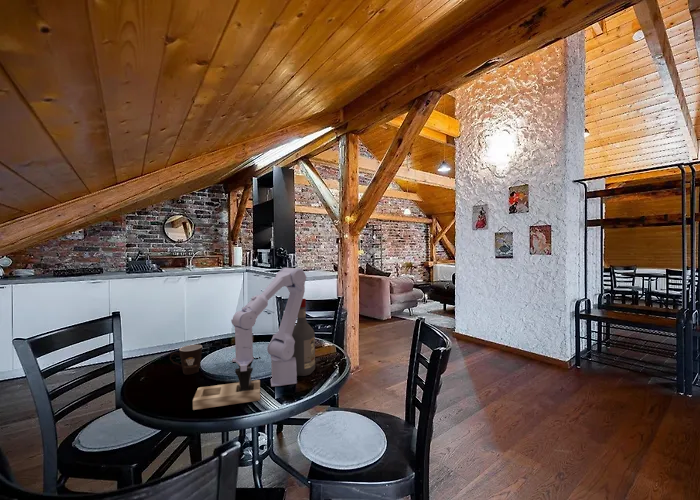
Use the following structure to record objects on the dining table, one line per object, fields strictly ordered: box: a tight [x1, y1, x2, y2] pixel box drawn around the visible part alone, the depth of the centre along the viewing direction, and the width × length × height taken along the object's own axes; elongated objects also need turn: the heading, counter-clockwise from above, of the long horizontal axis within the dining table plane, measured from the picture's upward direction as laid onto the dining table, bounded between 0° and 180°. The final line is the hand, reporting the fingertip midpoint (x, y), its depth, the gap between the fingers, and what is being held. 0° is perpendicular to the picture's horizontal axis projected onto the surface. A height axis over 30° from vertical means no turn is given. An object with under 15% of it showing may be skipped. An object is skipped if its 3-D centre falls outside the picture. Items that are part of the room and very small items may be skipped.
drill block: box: [192, 379, 261, 411], centre depth 113 cm, size 21×10×3 cm, turn 106°
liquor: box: [292, 298, 316, 377], centre depth 135 cm, size 9×9×30 cm
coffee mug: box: [169, 344, 203, 375], centre depth 138 cm, size 12×9×10 cm
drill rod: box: [238, 366, 252, 392], centre depth 115 cm, size 4×4×10 cm
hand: (245, 384), depth 115 cm, fingers open, 7 cm apart
